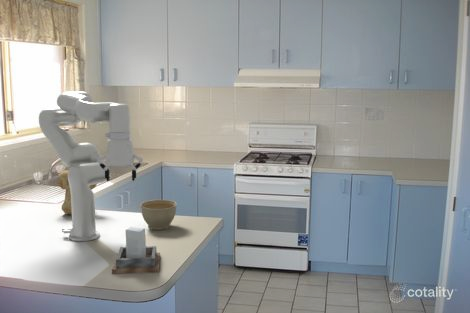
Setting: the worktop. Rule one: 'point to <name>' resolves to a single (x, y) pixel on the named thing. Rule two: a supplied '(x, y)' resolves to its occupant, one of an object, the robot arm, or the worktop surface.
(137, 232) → the skincare box
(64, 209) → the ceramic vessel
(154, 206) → the planter bowl
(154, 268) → the socket stand
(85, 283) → the worktop surface
